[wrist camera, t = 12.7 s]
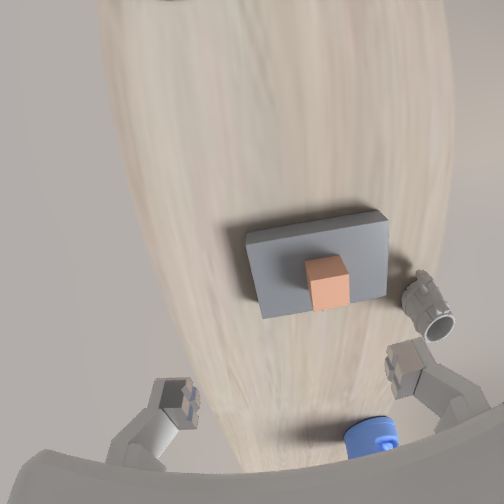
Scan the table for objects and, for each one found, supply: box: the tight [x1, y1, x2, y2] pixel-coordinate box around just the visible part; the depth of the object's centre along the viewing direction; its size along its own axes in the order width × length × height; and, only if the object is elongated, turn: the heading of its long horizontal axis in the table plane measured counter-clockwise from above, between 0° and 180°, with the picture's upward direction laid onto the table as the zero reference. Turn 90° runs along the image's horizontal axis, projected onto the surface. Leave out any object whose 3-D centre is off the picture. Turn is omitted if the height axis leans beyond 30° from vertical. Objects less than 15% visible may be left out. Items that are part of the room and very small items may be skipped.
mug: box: [401, 270, 455, 343], centre depth 43 cm, size 8×12×12 cm, turn 22°
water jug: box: [344, 417, 399, 460], centre depth 61 cm, size 16×16×28 cm
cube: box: [305, 255, 350, 312], centre depth 40 cm, size 5×5×5 cm
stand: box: [245, 210, 389, 319], centre depth 44 cm, size 13×20×4 cm, turn 101°
